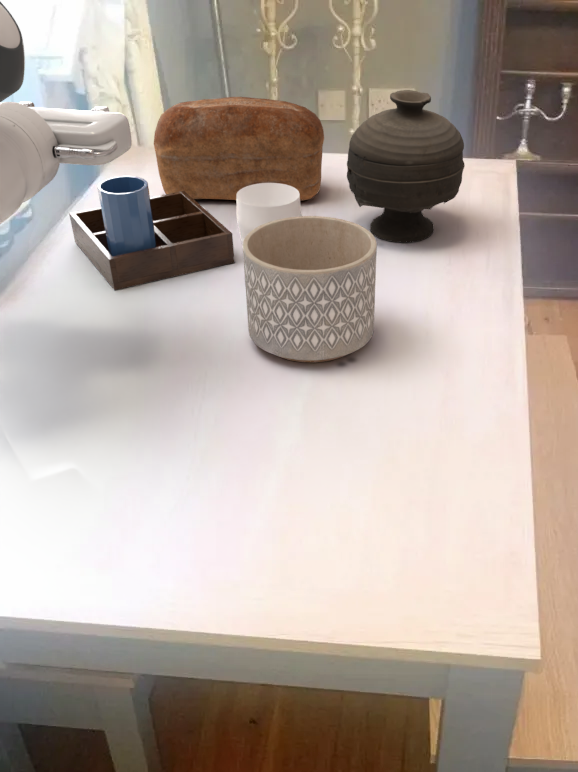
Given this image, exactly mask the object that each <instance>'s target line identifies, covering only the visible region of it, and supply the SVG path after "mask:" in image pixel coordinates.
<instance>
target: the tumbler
mask: <svg viewBox="0 0 578 772" xmlns="http://www.w3.org/2000/svg"><path fill="white" fill-rule="evenodd" d="M97 192H98V198H99V204H100V207H101V210H102V215H103V221H104V226H105V232H106V237H107V243H108V248H109V253H110V254H111V255H112V257H113V256H118V255H123V254H127V253H132V252H136V251H141V250H146V249H150V248H155V247H157V244H156V237H155V230H154V223H153V216H152V209H151V202H150V197H151V196H150V188H149V183H148V181H147V180H146V179H145V178H142V177H139V176H133V175H119V176H114V177H109V178H107V179H103V180H102V181H100V182H99V183H98V184H97Z"/></svg>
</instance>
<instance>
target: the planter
mask: <svg viewBox="0 0 578 772" xmlns="http://www.w3.org/2000/svg"><path fill="white" fill-rule="evenodd" d="M377 247H378V245H377V239H376V236H375V235H373V234H372V232H371V231H370V230H369V229H367V228H366V227H364V226H362V225H360V224H358V223H355V222H353V221H351V220H346V219H342V218H337V217H331V216H319V215H302V216H299V217H290V218H284V219H279V220H275V221H271V222H268V223H265V224H263V225H260V226H259V227H257V228H255V229H253V230H252V231H251V232H249V233H248V235H247V236H246V237H245V239H244V240H243V246H242V259H243V272H244V285H245V299H246V313H247V325H248V326H247V327H248V334H249V338H250V339H251V341H252V342H253V343H254V345H256V346H257V347H259V348H260V349H262V350H263V351H265V352H267V353H269V354H271V355H274V356H277V357H279V358H282V359H284V360H288V361H291V362H298V363H325V362H330V361H334V360H338V359H341V358H343V357H346V356H347V355H350V354H353V353H354V352H356V351H358V350H360V349H362V348H363V347H364V346H366V344H368V342H370V340H371V339H372V338H373V335H374V331H375V308H376V305H375V304H376V280H377V279H376V278H377V277H376V275H377V251H378V250H377V249H378V248H377Z"/></svg>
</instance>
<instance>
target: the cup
mask: <svg viewBox="0 0 578 772" xmlns="http://www.w3.org/2000/svg"><path fill="white" fill-rule="evenodd" d="M235 201H236V214H235V215H236V222H237V227H238V232H239V236H240V241H241V246H242V247H243V240H244V239H245V237H246V236H247V235H248V233H249V232H251V231H252V230H253V229H255V228H257V227H259V226H260V225H263V224H265V223H268V222H271V221H275V220H279V219H284V218H290V217H299V216H303V215H302V208H301V206H302V205H301V201H300V194H299V191H298V190H297V189H296V188H294V187H292V186H289V185H286V184H280V183H259V184H253V185H249V186H246V187H244V188H242V189H240V190H239V191H238V192H237V194H236V200H235Z"/></svg>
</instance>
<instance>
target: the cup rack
mask: <svg viewBox="0 0 578 772" xmlns="http://www.w3.org/2000/svg"><path fill="white" fill-rule="evenodd" d="M150 202H151V209H152V216H153V223H154V230H155V237H156V244H157V247H155V248H150V249H146V250H141V251H136V252H132V253H127V254H123V255H118V256H113V257H112V255H111V254H110V253H109V248H108V243H107V237H106V232H105V226H104V221H103V215H102V210H101V206H99V207H93V208H88V209H83V210H77V211H72V212H69V219H70V225H71V229H72V230H71V231H72V234H73V238H74V242H75V244H76V245H77V246H78V248H79V249H80V250H81V251H82V253H83V254H84V255H85V256H86V257H87V259H88V260H89V261H90V262H91V264H93V266H94V267H95V269H96V270H97V271H98V272H99V273H100V275H101V276H102V277H103V278H104V279H105V280H106V282H107V283H108V284H109V285H110V286H111V288H112V290H114V291H118V290H122V289H126V288H130V287H135V286H138V285H139V286H141V285H144V284H149V283H154V282H157V281H161V280H162V281H163V280H166V279H169V278H175V277H178V276H183V275H188V274H193V273H195V272H200V271H204V270H205V271H206V270H210V269H213V268H217V267H223V266H226V265H232V264H235V263H236V261H235V253H234V252H235V251H234V238H233V232H232V231H230V230H229V229H228V228H227V227H226V226H225V225H224V224H222V222H220V221H219V220H218V218H217V219H216V217H215V216H213V214H211V212H209V211H208V210H206V209H205V208H204V207H203V206H202V205H201V204H200V203H199V202H198V201H196V199H193V198H192V197H191V196H189V195H188V194H187V193H186V192H185V191H180V192H175V193H170V194H166V193H164V194H159V195H154V196H150Z"/></svg>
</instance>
